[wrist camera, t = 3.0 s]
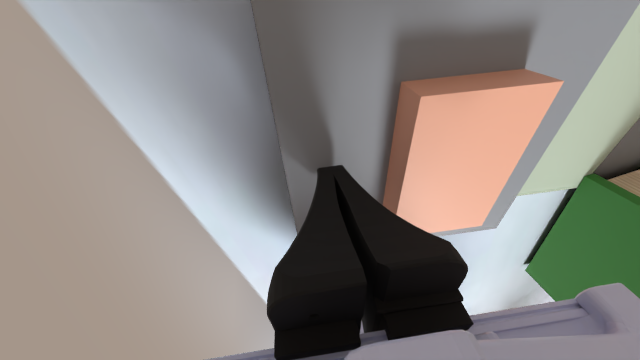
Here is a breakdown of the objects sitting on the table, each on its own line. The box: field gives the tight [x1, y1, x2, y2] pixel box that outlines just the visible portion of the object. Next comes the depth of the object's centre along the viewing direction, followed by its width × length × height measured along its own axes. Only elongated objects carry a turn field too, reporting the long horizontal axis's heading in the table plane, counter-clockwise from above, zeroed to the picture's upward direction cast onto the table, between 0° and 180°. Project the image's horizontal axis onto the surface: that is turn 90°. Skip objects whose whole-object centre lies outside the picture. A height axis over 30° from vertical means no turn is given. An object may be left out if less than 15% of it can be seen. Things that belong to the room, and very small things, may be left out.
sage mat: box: [517, 4, 640, 196], centre depth 17 cm, size 17×11×1 cm, turn 4°
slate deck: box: [251, 0, 640, 237], centre depth 15 cm, size 16×16×4 cm
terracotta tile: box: [383, 69, 564, 233], centre depth 13 cm, size 9×6×2 cm, turn 4°
